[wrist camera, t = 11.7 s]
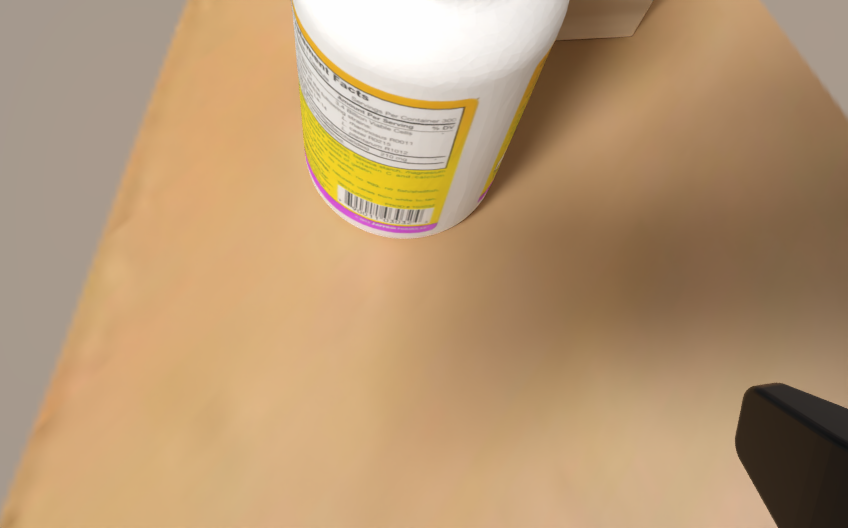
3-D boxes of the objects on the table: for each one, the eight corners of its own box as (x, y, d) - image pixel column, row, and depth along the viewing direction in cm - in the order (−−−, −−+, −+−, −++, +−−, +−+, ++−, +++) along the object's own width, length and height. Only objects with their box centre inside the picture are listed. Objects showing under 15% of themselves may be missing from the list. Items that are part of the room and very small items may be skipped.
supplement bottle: (432, 55, 27) (513, -325, 15) (526, 196, 25) (700, -105, 13) (270, 122, 25) (215, -250, 13) (360, 279, 24) (391, 16, 12)
